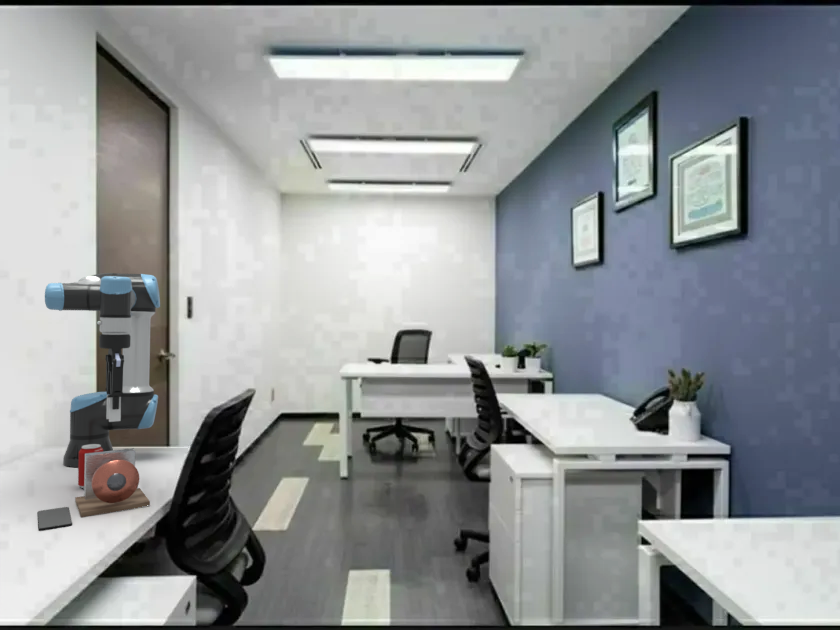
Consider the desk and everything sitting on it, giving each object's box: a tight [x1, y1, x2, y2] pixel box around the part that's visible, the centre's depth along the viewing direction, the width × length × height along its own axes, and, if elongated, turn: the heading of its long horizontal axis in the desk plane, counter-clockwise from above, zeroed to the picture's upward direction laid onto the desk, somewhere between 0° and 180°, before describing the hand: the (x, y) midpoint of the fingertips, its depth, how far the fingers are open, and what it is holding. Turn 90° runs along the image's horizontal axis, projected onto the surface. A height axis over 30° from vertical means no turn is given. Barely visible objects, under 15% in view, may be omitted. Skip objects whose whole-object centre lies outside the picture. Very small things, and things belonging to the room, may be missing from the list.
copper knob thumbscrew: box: [91, 459, 140, 503], centre depth 157 cm, size 16×11×11 cm
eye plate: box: [83, 447, 136, 500], centre depth 160 cm, size 3×12×13 cm, turn 126°
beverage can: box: [77, 444, 103, 490], centre depth 170 cm, size 6×6×12 cm
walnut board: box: [74, 487, 151, 518], centre depth 156 cm, size 14×16×1 cm
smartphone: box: [37, 506, 73, 532], centre depth 144 cm, size 7×1×15 cm
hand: (113, 419), depth 156 cm, fingers open, 4 cm apart
